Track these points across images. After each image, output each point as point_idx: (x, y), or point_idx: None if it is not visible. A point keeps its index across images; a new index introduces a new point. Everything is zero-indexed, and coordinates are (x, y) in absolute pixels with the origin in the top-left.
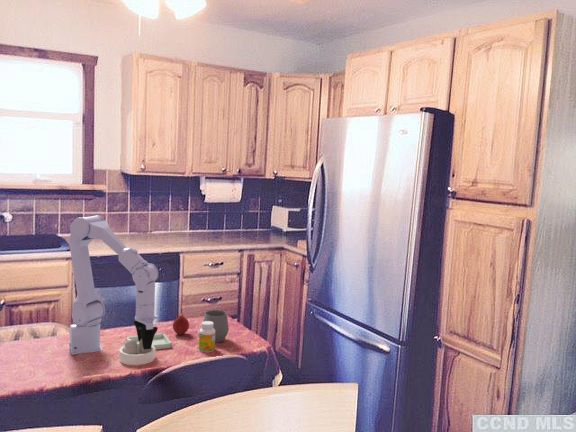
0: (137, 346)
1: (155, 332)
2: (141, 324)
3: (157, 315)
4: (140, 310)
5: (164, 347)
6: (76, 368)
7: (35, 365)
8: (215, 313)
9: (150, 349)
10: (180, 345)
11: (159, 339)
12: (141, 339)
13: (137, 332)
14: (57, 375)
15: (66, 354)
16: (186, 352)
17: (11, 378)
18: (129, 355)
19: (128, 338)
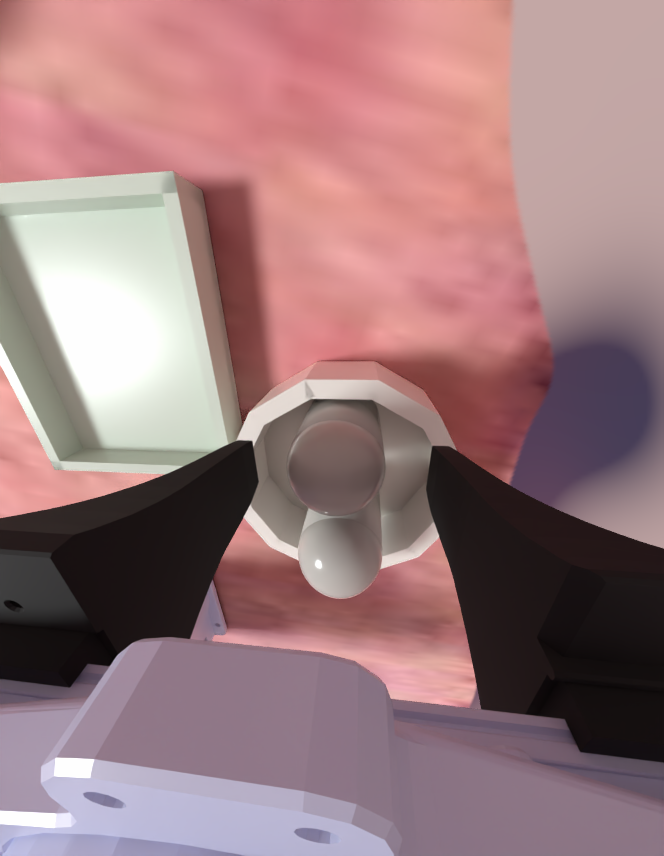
0: None
1: (638, 548)
2: (169, 595)
3: (160, 785)
4: None
5: (204, 255)
6: (355, 637)
7: None
8: None
9: (368, 415)
10: (118, 69)
11: (15, 251)
12: (333, 515)
13: (225, 548)
14: (394, 676)
15: (214, 635)
16: (308, 44)
17: None
18: (427, 544)
19: (76, 463)
